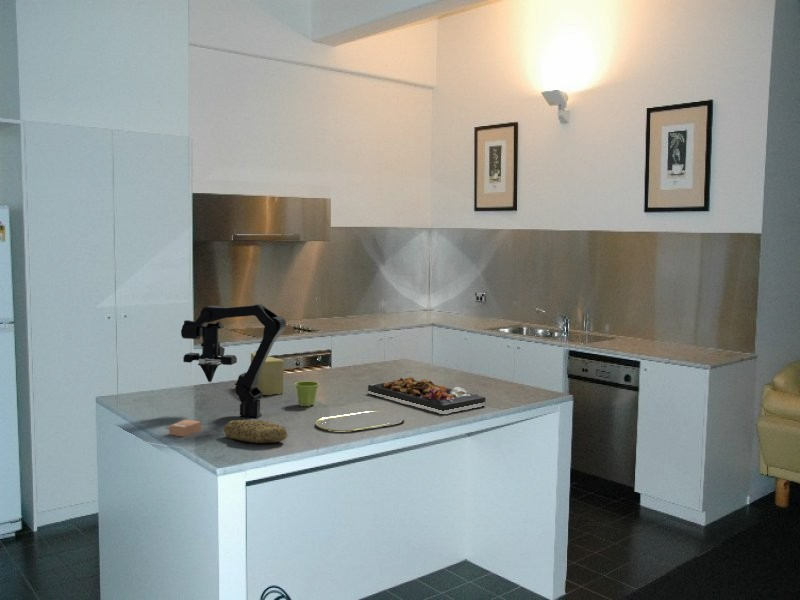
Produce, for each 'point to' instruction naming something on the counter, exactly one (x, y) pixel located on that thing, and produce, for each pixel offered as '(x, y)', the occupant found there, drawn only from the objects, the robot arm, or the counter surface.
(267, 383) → the cheese
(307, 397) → the plant pot
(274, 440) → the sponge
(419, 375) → the counter surface
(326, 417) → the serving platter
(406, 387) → the food platter
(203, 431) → the mat
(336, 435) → the counter surface
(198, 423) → the card box
